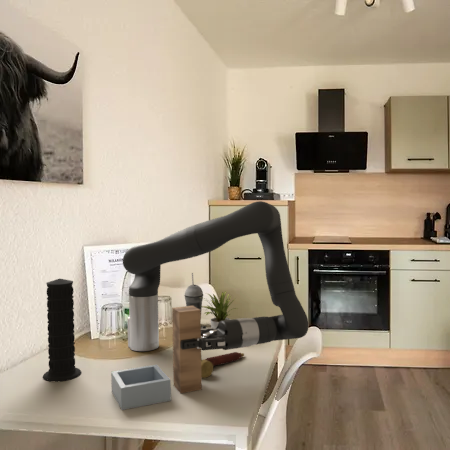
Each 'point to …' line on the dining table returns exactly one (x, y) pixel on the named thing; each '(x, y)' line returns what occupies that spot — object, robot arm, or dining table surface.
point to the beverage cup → (194, 296)
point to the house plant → (218, 309)
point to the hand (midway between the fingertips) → (177, 341)
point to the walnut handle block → (188, 358)
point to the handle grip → (61, 331)
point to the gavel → (217, 362)
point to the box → (140, 386)
